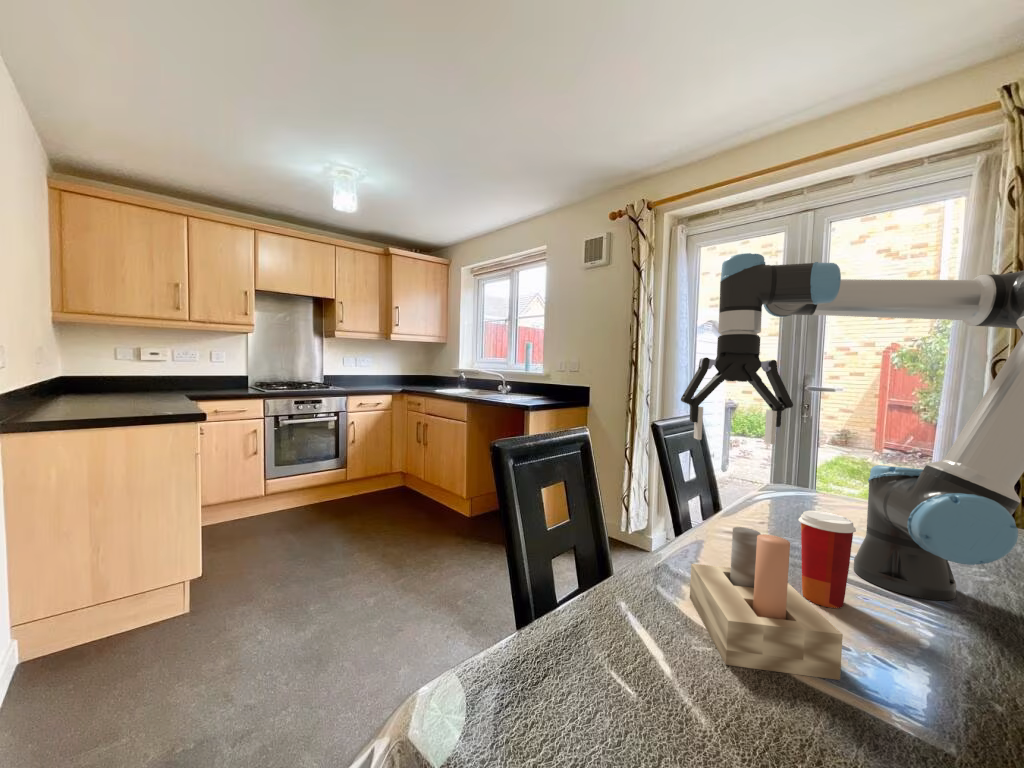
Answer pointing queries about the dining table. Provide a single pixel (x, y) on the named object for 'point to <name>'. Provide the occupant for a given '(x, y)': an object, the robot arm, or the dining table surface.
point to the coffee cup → (825, 557)
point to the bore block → (762, 619)
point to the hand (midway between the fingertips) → (733, 441)
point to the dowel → (771, 576)
